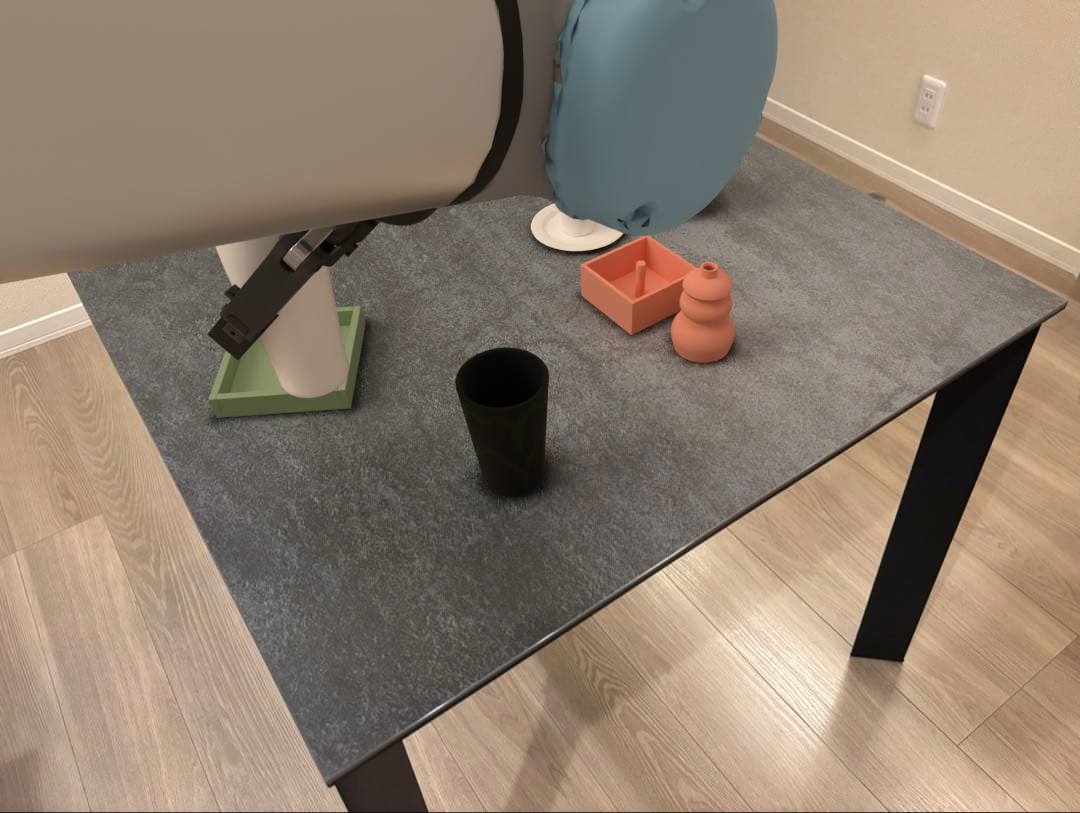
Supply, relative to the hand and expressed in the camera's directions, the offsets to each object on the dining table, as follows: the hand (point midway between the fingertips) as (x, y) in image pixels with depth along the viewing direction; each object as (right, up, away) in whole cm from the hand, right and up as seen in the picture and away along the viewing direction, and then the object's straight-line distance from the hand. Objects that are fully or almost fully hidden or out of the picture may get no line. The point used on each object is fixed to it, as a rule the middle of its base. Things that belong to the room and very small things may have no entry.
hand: (257, 313), depth 61 cm
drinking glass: (+4, -5, +3) cm, 7 cm away
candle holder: (+26, +15, +43) cm, 53 cm away
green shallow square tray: (-5, -3, +27) cm, 28 cm away
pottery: (+35, +3, +30) cm, 46 cm away
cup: (+18, -13, +15) cm, 27 cm away
